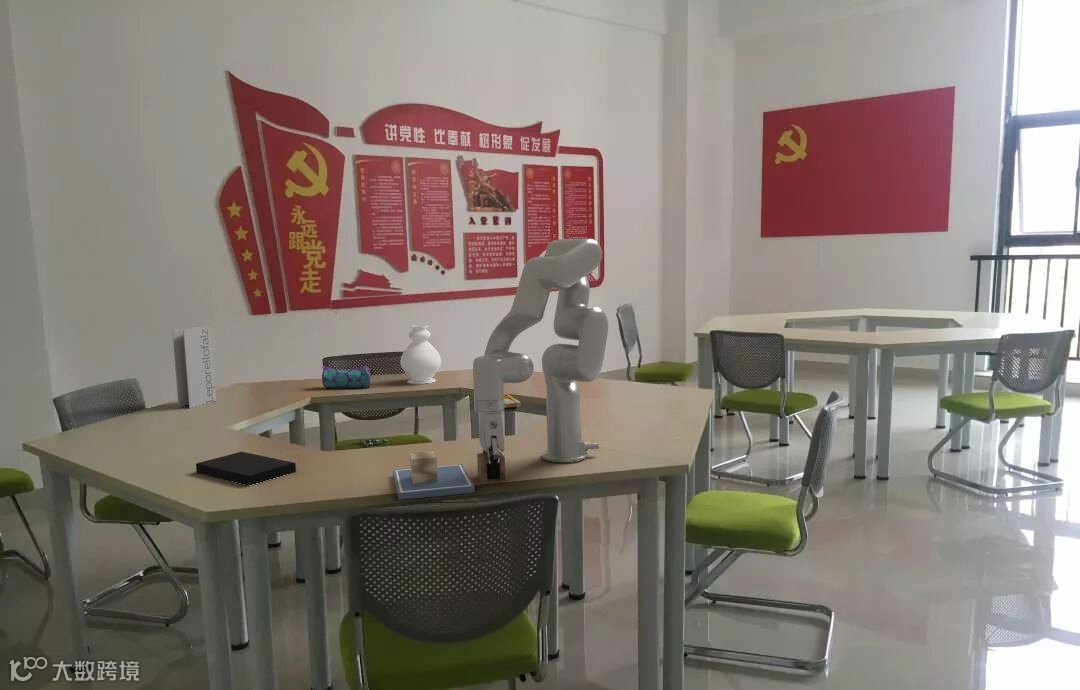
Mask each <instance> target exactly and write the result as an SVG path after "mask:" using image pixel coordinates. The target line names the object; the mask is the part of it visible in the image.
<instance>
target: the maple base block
mask: <svg viewBox="0 0 1080 690" xmlns="http://www.w3.org/2000/svg"><path fill="white" fill-rule="evenodd" d="M437 460H438V457H437V455H436V452H435V451H433V450H431V451H423V452H422V451H421V452H410V453H409V463H410V469H411V478H412V482H413V483H423V482H433V481H438V479H437V466H438V461H437Z"/></svg>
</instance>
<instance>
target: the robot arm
mask: <svg viewBox="0 0 1080 690" xmlns="http://www.w3.org/2000/svg"><path fill="white" fill-rule="evenodd" d="M602 257H603V251H602V247H601V245H600V244H599V242H598V241H597V240H595V239H592V238H561V239H555V240H553V241H550V242H549V243H548V245H547V246H546V249H545V256H535V257H531V258H530V259H528V260H527V261H526V262H525V264H524V266H523V269H522V271H521V276H520V278H519V282H518V286H517V290H516V291H515V295H514V299H513V302H512V305H511V308H510V310H509V312H508V313H507V314H506V315H505V316H504V317H503V318H502V319H501V320H500V321H499V323H498V324H497V326H496V327H495V328H494V330H492V333H491V334H490V335H489V338H488V341H487V343H486V347H485V351H484V355H483V356H482V355H481V356H478V357H476V358H474V359H473V362H472V371H473V372H472V376H473V406H474V413H476V414H478V437H479V439H478V440H479V445H480V447H481V448H482V452H481V453H487V456H488V464H487V478H488V479H489V480H491V479H499V478H500V460H499V452H501V453H502V452H504V451H505V438H504V437H505V436H504V423H503V415H502V413H504V412H505V411H504V393H505V384H511V383H512V384H521V383H523V382H526V381H528V380H529V379H530V378H531V376H532V375H533V373H534V363H533V361H532V359H531V358H530V357H529V356H527V355H526V354H523V353H518V352H512V351H510V348H511V345H512V344H513V342H514V340H515V339H516V338H517V337H518V336H519V335H520V334H521V333H523V332H524V331H526V330H528V329H530V328H532V327H533V326H535V325H537V324H538V323H540V322H541V321H542V319H543V318H544V314H545V311H546V308H547V307H546V306H547V304H548V300H549V297H550V294H551V290H558V293H557V294H558V296H557V300H556V307H555V311H554V312H555V313H554V319H553V332H554V334H555V335H556V336H557V337H559V338H561V339H565V340H572V341H578V343H577V345H576V344H569V343H554V344H551V345H549V346H547V348H546V349H544V351H543V354H542V357H541V367H542V368H541V369H542V373H543V377H544V378H543V379H544V383H545V396H546V397H545V398H546V399H545V400H546V403H545V404H546V440H547V441H546V443H547V444H546V447H547V449H546V450H544V451H542V453H541V458H542V459H543V460H544V461H546V460H547V462H550V461H551V463H557V462H560V463H559V464H562V463H561V462H571V463H574V462H573V461H578V460H582V459H584V460H586V459H587V458H588V450H599V449H600V448H599V446H600V445H599V442H598V441H595V442H594V441H593V442H592V441H585V440H584V439H583V438H582V395H581V389H580V386H579V382H580V383H582V382H583V383H590V382H593V381H595V380H596V379H597V378H598V377H599V375H600V374H601V371H602V368H603V364H604V359H605V351H606V345H607V341H608V334H609V321H608V320H609V319H608V316H607V314H606V313H605V311H604V310H603V309H602V308H600V307H598V306H593V305H589V300H590V291H591V289H590V281H589V279H588V277H587V276H588V275H589V274H591V273H592V272H594V271H595V270H596V269H597V268H598V267H599V265H600V263H601V261H602ZM503 411H504V412H503ZM490 454H493V455H491V458H490ZM586 457H587V458H586ZM585 458H586V459H585ZM582 461H583V460H582ZM578 462H579V461H578Z"/></svg>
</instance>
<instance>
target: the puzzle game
mask: <svg viewBox="0 0 1080 690" xmlns="http://www.w3.org/2000/svg"><path fill="white" fill-rule="evenodd" d="M521 406H522V402H521V400H520V401H519V400H518V399H516V397H514V396H512V395H510V394H509V393H508V392H504V411H503V412H502V413H504V412H514V411H516V410H517V408H518V407H521Z"/></svg>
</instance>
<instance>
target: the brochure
mask: <svg viewBox="0 0 1080 690" xmlns="http://www.w3.org/2000/svg"><path fill="white" fill-rule="evenodd" d="M171 331H172V333H171V335H172V343H173V344H172V345H173V355H174V356H173V357H174V367H175V368H174V370H175V380H176V392H177V403H178V408H179V407H180V408H183V407H182V406H184V407H186V406H185V405H188V406H189V409H192V408H191V407H193V408H196V407H195V406H197V407H200V406H199V405H201V406H203V405H202V404H204V405H207V404H206V403H208V404H211V403H210V402H212V403H214V402H213V401H216V402H217V390H216V387H217V386H216V377H215V364H214V361H215V360H214V350H213V336H212V326H210V325H209V326H204V327H201V325H200V326H198V325H197V326H193V327H185V328H178V329H177V328H176V329H172V330H171Z"/></svg>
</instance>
